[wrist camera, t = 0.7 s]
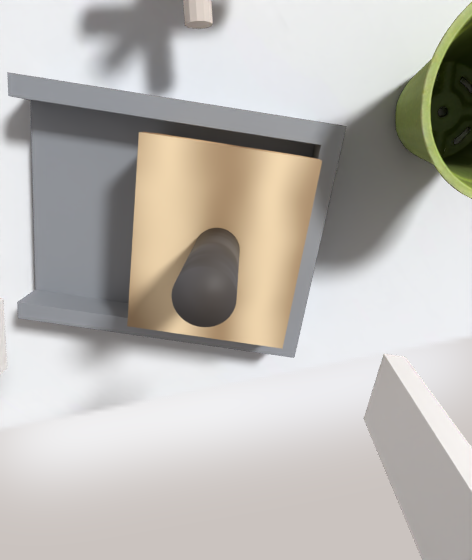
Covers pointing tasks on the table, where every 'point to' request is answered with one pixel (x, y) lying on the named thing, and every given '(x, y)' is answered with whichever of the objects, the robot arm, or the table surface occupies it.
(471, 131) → the plant pot
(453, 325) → the table surface
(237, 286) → the wooden block with peg
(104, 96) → the bay
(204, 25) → the pipe connector
